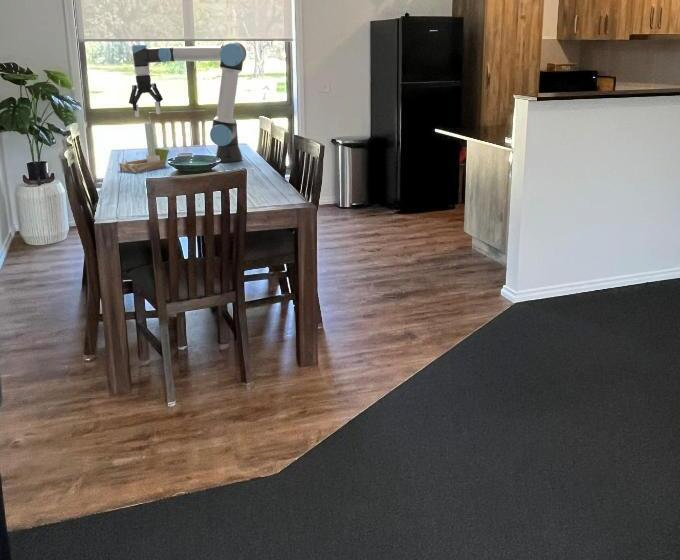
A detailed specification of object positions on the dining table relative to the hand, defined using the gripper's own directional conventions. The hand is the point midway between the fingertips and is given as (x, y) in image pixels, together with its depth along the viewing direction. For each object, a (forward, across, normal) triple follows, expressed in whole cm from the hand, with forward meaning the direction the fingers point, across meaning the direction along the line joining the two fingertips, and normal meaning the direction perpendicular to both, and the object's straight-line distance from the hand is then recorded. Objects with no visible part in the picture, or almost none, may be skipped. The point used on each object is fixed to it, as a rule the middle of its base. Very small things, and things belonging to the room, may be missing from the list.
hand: (148, 115), depth 399 cm
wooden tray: (+28, +7, 0) cm, 29 cm away
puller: (+28, 0, 0) cm, 28 cm away
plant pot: (+28, -3, 0) cm, 28 cm away
